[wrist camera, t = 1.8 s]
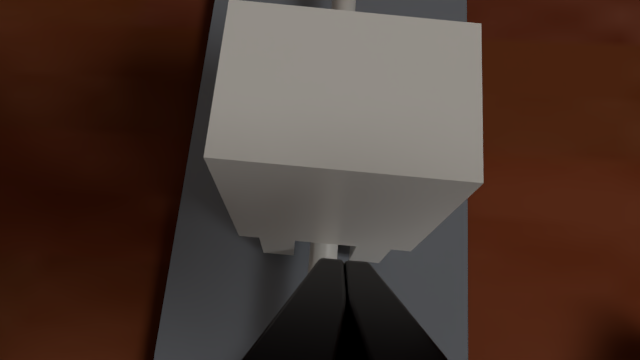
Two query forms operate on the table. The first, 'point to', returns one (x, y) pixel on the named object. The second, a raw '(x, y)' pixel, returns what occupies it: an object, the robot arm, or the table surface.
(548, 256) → the table surface
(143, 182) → the table surface
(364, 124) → the stepped pale block
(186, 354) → the flat grey panel
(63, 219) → the table surface
